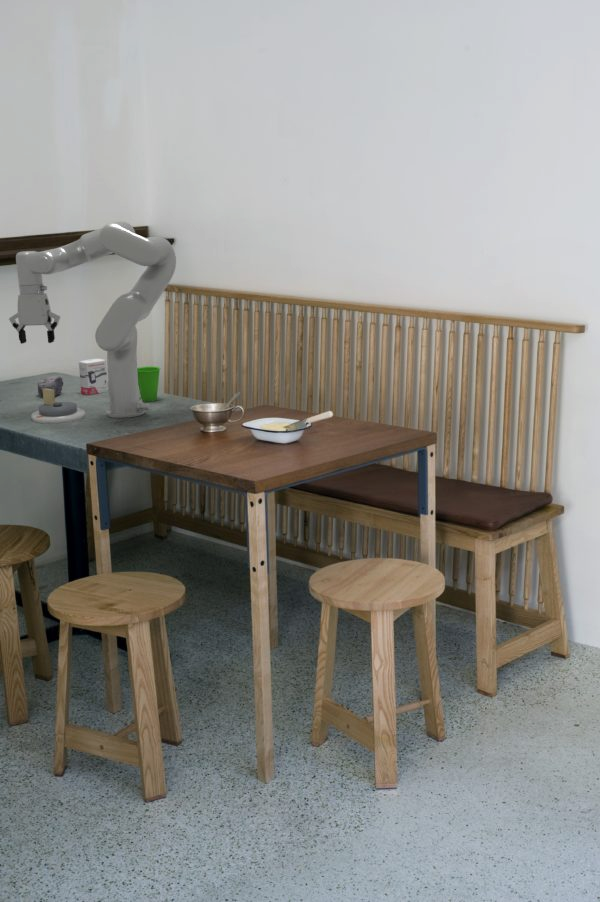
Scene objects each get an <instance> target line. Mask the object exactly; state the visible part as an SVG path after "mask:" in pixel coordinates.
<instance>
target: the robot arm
mask: <svg viewBox="0 0 600 902" xmlns="http://www.w3.org/2000/svg"><path fill="white" fill-rule="evenodd" d="M112 254H115V255H117V256H119V257H121V258H124V259H125V260H128V261H130V262H132V263H134V264H137V265H138V266H142V267H146V269H145V270H144V271H143V272H142V274H141V275H140V277H139V278H138V280H137V281H136V283H135V285H134V286H133V287H132V289H130V291H129V292H126V293H124V294H121V295H120V296H119V297H117V298H116V299H115V300H114V302H113V303H112V305H111V306H110V308H109V309H108V311H107V312H106V314H105V315H104V317H103V318H102V320H101V321H100V323H99V324H98V326H97V328H96V330H95V335H94V337H95V342H96V344H97V346H98V347H99V348H100V349H101V350H103V351H105V352H107V353H106V368H107V384H108V395H109V405H110V406H109V409H107V410H106V411H105V415H106V416H107V417H109V418H115V419H123V418H124V419H125V418H134V417H135V418H136V417H139V416H142V415H144V414H145V411H150V410H151V409H152V407H151V404H150V402H146V403H144V401H142V399H141V398H140V390H139V386H138V372H137V368H138V357H137V356H138V355H137V354H138V353H137V350H138V347H137V346H138V330H137V326H136V325H137V324H138V323H139V322H141V321H143V320H144V319H146V318H147V317H148V316H149V315H150V314H151V311H152V310H153V309H154V307H155V305H156V304H157V302H158V301H159V299H160V298H161V296H162V294H163V293H164V291H165V290H166V288H167V287H168V285H169V283H170V282H171V280H172V278H173V277H174V274H175V271H176V267H177V256H176V253H175V250H174V248H173V245H172V244H171V243H170V241H169V240H168V239H166V238H165V237H162V236H149V237H144V236H142V235H139V234H137V233H136V230H135V228H133V226H132V225H131V223H129V222H126V221H121V220H120V221H116V222H115V221H114V222H110V223H107V224H105V225H104V226H103V227H101V228H98V229H95V230H92V231H89V232H87V233H85V234H82V235H81V236H80V238H79V239H77V240H74V241H73V242H70V243H68V244H66V245H62V246H60V247H56V248H51V249H46V250H42V251H41V250H40V251H37V250H26V251H19V252H17V253H16V255H15V263H16V271H17V272H16V273H17V280H18V290H19V295H17V313H15V314H13V315H12V316H10V317H9V319H8V320H9V322H10V323H11V325H12V327H13V328H14V329H15V330H16V332H17V333H18V340H19V341H20V342H19V343H20V344H26V342H27V335H26V330H24V329H25V328H26V326H44V327H45V328H46V329H47V331H46V334H47V343H48V344H51V343H54V342H55V339H56V337H55V330H56V328H57V326H58V325H59V323H60V320H61V316H60V315H58V314H56V313H54V312H52V309H51V305H50V301H49V298H48V294H47V292H46V293H45V291H47V290H48V286H47V285H45V284H44V282H43V275H53V274H56V273H59V272H65V271H66V270H69V269H72V268H76V267H78V266H80V265H83V264H85V263H86V264H87V263H89V262H93V261H96V260H98V259H101V258H103V257H106V256H109V255H112ZM17 319H18V320H17ZM53 319H54V320H53ZM17 321H18V322H17Z"/></svg>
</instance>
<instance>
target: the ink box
mask: <svg viewBox="0 0 600 902" xmlns="http://www.w3.org/2000/svg"><path fill="white" fill-rule="evenodd" d="M78 367H79V379H80V383H79V384H80V392H81V394H82V395H86V396H92V395H97V394H104V393H109V385H108V372H107V359H106V360H105V359H103V358H99V357H98V358H97V357H96V358H91V359H85V360H80V361H79V362H78Z"/></svg>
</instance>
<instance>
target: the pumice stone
mask: <svg viewBox="0 0 600 902" xmlns="http://www.w3.org/2000/svg"><path fill="white" fill-rule="evenodd" d="M63 387H64V381H63V378H62V376H60V375H52V376H46V377H44V378H42V379H41V380H39V381H38V382H37V393H38V395H39V396H41V397H42V398H43V389H45V388H47V389H52V390H54V395H55V398H57V397H58V396H60V395H61V393H62V391H63Z"/></svg>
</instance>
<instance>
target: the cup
mask: <svg viewBox="0 0 600 902" xmlns="http://www.w3.org/2000/svg"><path fill="white" fill-rule="evenodd" d="M160 370H161V367H159V366H152V365H151V366H140V367H137V372H138V387H139V396H140V399H142V402H146V403H150V402H156V401H157V399H158V388H159V380H160Z"/></svg>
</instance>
